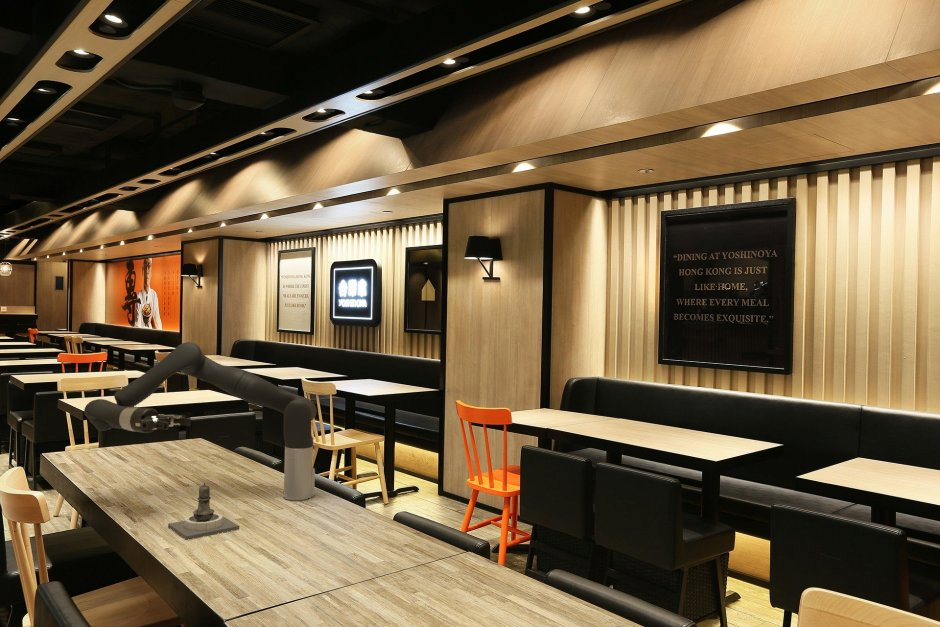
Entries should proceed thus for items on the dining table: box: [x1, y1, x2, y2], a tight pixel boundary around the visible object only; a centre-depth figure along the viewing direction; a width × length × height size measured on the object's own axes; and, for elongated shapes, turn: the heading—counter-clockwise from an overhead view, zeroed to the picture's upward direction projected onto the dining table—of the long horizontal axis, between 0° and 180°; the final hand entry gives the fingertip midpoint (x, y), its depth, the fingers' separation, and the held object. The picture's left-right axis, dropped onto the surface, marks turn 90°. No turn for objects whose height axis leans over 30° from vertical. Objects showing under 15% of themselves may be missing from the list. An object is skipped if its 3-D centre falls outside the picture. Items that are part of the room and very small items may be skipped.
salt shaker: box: [192, 482, 216, 522], centre depth 196 cm, size 6×6×12 cm
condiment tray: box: [167, 512, 240, 541], centre depth 196 cm, size 15×14×3 cm
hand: (179, 424), depth 205 cm, fingers open, 8 cm apart
